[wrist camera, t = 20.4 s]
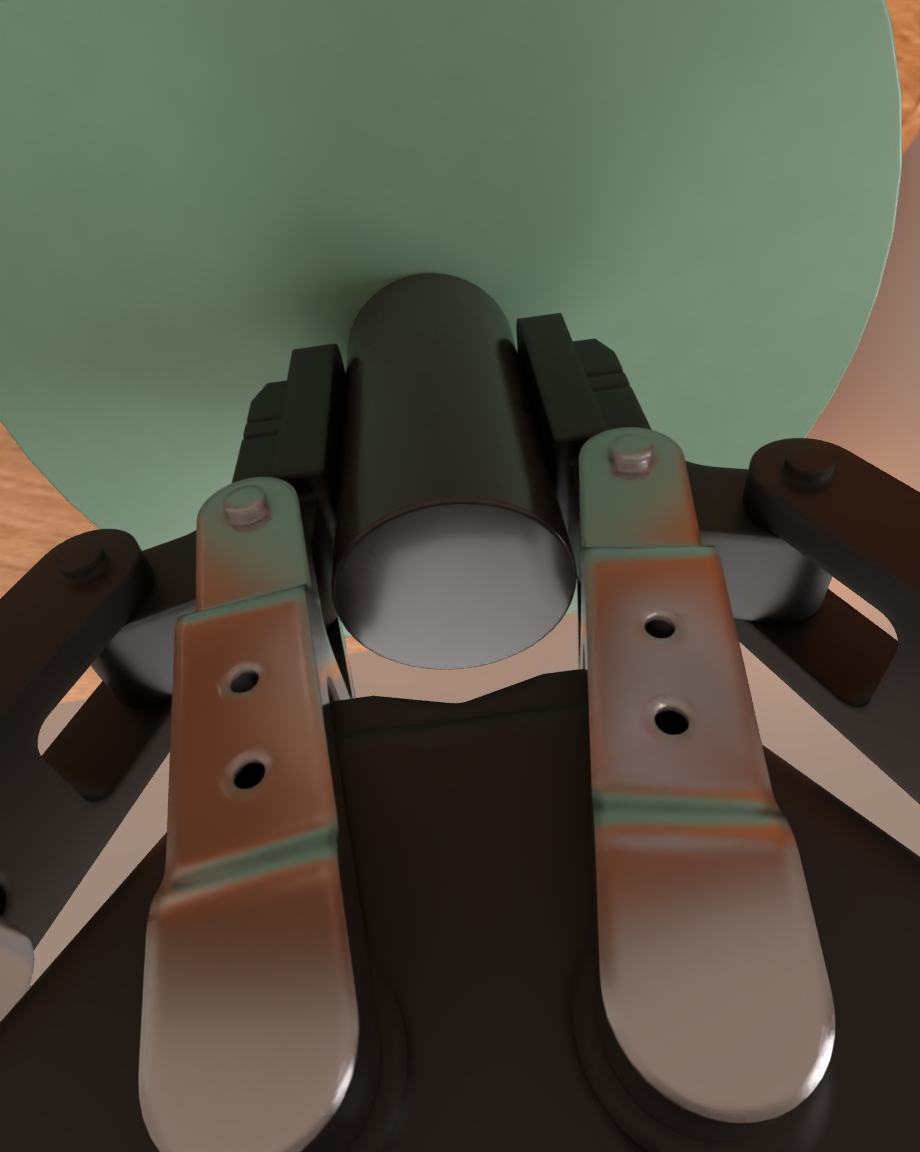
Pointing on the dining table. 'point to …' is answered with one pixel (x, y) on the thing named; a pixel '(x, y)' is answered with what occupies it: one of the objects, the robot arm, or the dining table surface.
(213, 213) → the tin lid
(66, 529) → the dining table surface
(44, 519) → the dining table surface
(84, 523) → the dining table surface
